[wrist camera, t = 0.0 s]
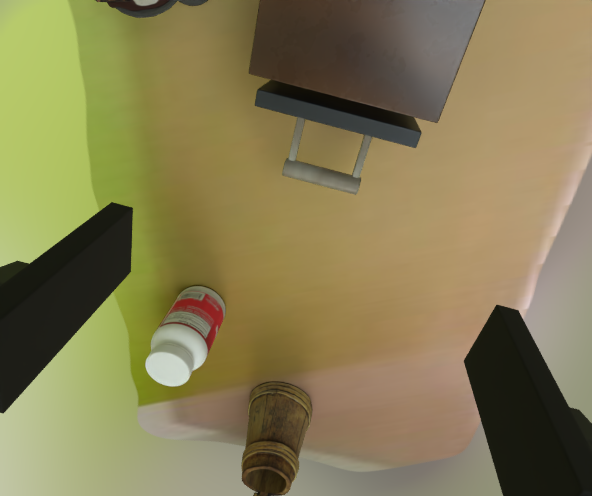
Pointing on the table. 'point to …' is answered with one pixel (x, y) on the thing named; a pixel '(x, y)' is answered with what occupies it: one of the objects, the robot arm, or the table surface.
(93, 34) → the table surface
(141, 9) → the sundae
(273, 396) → the wooden mug
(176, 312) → the pill bottle
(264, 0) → the cabinet
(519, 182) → the table surface
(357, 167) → the drawer
